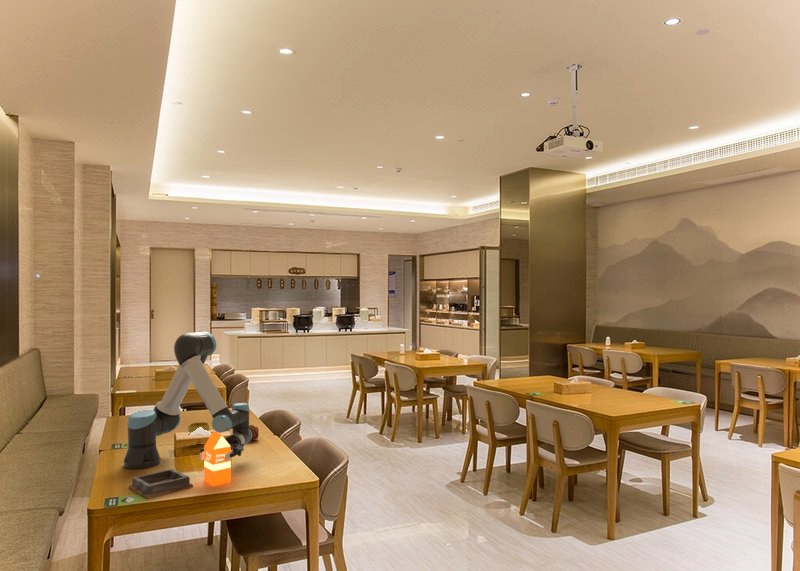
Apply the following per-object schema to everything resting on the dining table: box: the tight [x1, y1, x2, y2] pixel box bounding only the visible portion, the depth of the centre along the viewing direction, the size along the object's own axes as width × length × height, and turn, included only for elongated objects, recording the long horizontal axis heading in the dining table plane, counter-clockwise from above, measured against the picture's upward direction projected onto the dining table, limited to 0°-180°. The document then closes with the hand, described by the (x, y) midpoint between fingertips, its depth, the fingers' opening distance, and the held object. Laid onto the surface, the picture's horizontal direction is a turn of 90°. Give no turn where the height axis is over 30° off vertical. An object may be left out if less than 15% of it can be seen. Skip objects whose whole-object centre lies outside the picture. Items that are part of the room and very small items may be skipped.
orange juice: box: [203, 430, 232, 487], centre depth 235 cm, size 8×9×20 cm
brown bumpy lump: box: [249, 424, 260, 442], centre depth 302 cm, size 8×8×12 cm
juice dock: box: [128, 468, 194, 499], centre depth 228 cm, size 18×18×4 cm
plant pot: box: [187, 421, 210, 434], centre depth 297 cm, size 10×10×10 cm
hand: (213, 457), depth 231 cm, fingers closed on orange juice, 10 cm apart
